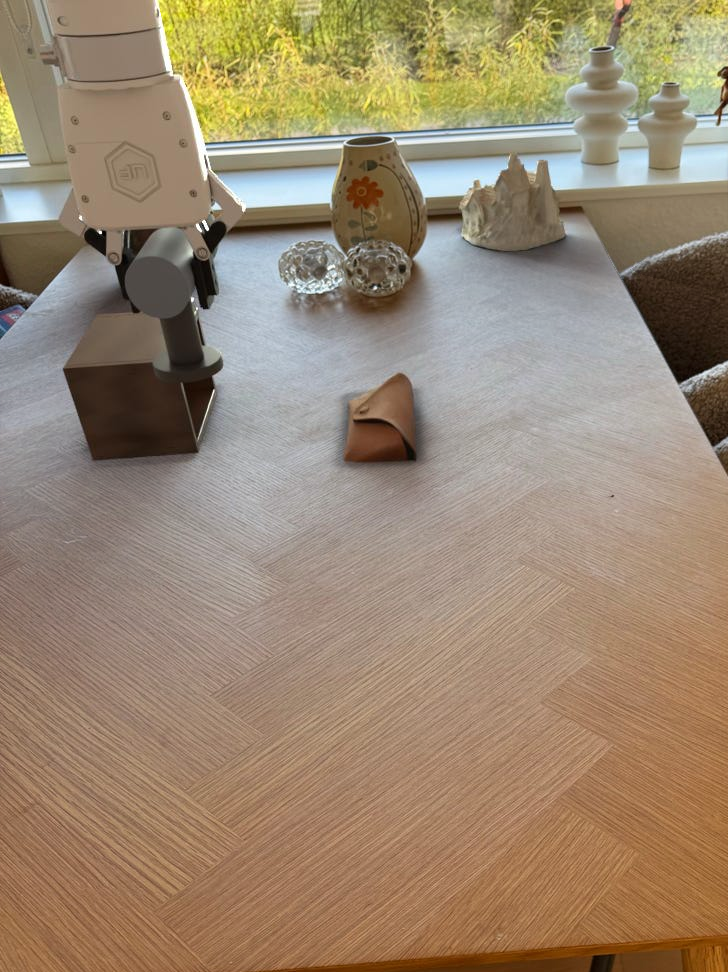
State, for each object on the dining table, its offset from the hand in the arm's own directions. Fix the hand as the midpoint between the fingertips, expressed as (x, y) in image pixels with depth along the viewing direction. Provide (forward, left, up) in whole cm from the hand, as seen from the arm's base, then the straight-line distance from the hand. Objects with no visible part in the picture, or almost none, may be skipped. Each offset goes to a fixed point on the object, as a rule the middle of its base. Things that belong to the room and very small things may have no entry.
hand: (174, 303), depth 81 cm
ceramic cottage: (+38, +91, -23) cm, 101 cm away
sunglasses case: (+15, +19, -23) cm, 33 cm away
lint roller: (0, 0, -6) cm, 6 cm away
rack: (-12, +26, -23) cm, 37 cm away
